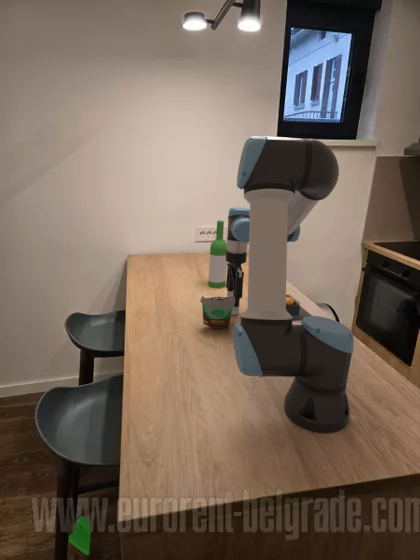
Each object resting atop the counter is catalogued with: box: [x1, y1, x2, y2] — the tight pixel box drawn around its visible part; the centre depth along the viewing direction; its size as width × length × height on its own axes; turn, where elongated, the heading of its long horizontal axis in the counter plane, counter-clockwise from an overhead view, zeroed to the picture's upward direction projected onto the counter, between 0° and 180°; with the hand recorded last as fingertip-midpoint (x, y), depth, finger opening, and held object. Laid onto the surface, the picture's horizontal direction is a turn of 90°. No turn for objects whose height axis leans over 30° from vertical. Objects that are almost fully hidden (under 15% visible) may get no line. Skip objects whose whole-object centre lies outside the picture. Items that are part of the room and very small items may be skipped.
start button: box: [286, 296, 295, 305], centre depth 140 cm, size 4×4×3 cm
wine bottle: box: [208, 220, 228, 289], centre depth 168 cm, size 8×8×30 cm
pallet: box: [286, 294, 313, 321], centre depth 148 cm, size 21×17×6 cm
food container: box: [199, 295, 235, 329], centre depth 129 cm, size 12×6×10 cm, turn 105°
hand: (232, 310), depth 144 cm, fingers open, 6 cm apart
